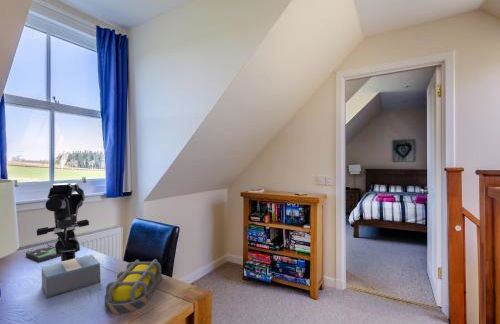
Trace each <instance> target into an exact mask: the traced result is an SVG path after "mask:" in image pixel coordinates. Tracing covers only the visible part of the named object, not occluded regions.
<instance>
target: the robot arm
mask: <svg viewBox="0 0 500 324" xmlns="http://www.w3.org/2000/svg"><path fill="white" fill-rule="evenodd" d="M85 196H86V195H85V191H84V189H82V188H81V187H79V183H53V184H52V186H50V189H49V192H48V195H47V199H48V200H46V203H45V204H44V205H45V208H46V209H47V211H49V212H53V216H54V224H55V226H53V227H49V226H45V227H41V228H37V229H36V230H35V231H36V236H42V235H47V234H48V233H51V232H53V235H56V236H57V241H56V242H55V245H54V247H55V248H54V249H56V254H61V256H60V262H62V261H66V260H70V259H76V253H78V252H79V251H81V245H80V242H79V240H78V238H77V236H76V233H75V231H76V228H77V227H79V228H82V227H87V226H90V221H89V220H88V219H82V220H77V219H78V213H79V209H80V208H81V207H83V203H84V202H85V200H86V199H85V198H86V197H85Z"/></svg>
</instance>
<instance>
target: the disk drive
mask: <svg viewBox="0 0 500 324" xmlns="http://www.w3.org/2000/svg"><path fill="white" fill-rule="evenodd" d="M26 256H27V257H26ZM57 256H58V257H61V254H56V249H55V248H54V247H53V248H52V247H50V246H45V247H41V248H37V249H35V250H32V251H31V250H30V251H27V252H25V257H26V258H28V257H29V258H28V259H31V260H32V261H33V260H34V261H35V262H38V263H40V262H44V261H47V260H51V259H55V258H57Z"/></svg>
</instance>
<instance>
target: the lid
mask: <svg viewBox="0 0 500 324" xmlns="http://www.w3.org/2000/svg"><path fill="white" fill-rule="evenodd" d="M96 266H100V267H101V263H100V261H98V259H97V258H96V257H95V256H94V255H93V254H89V255H85V256H80V257H75V259H70V260H66V261H62V262H61V261H59V262H55V263H50V264H46V265H43V266H40V267H41V272H42V271H43V274H44V276H45V279H46V280H48V279H51V278H55V277H59V276H63V275H66V274H70V273H74V272H78V271H81V270H85V269H89V268H93V267H96Z"/></svg>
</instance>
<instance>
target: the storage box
mask: <svg viewBox="0 0 500 324" xmlns="http://www.w3.org/2000/svg"><path fill="white" fill-rule="evenodd" d="M100 282H101V265H100V266H96V267H93V268H89V269H85V270H81V271H78V272H74V273H70V274H66V275H63V276H59V277H55V278H51V279H48V280H46V279H45V276H44V274H43V271H42V270H41V287H42V290H43V293H44V295H45V298H46V299H51V298H53V297H56V296H59V295H62V294H66V293H68V292H69V293H70V292H73V291H75V290H78V289H79V290H80V289H83V288H85V287H89V286H93V285H95V284H98V283H100Z"/></svg>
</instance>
